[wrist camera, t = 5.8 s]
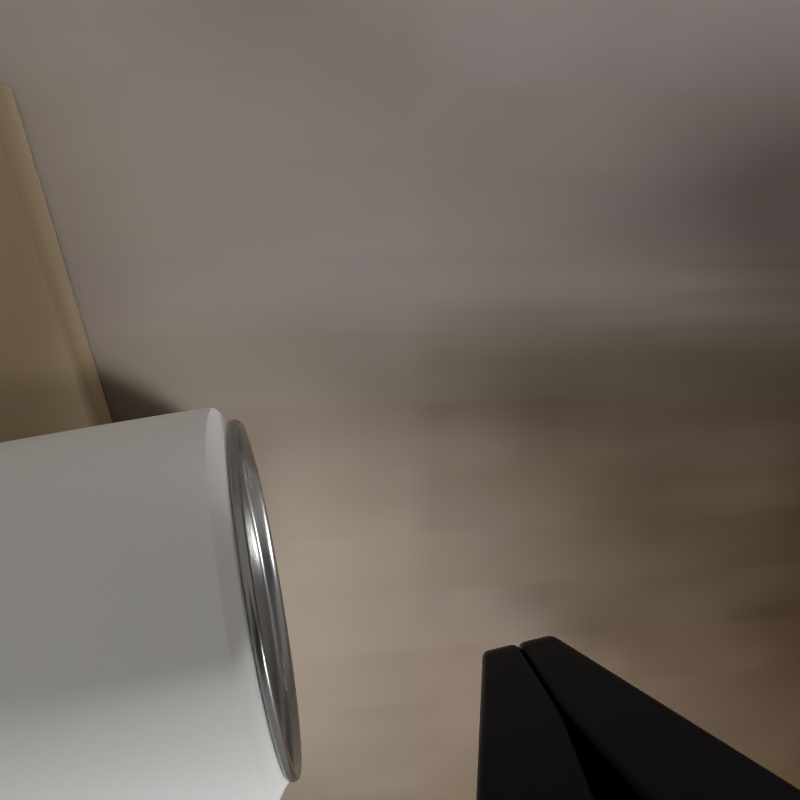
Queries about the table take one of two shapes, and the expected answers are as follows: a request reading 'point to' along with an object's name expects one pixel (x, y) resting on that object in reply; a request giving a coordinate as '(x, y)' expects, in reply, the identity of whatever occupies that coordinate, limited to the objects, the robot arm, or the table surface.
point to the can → (142, 617)
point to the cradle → (37, 306)
